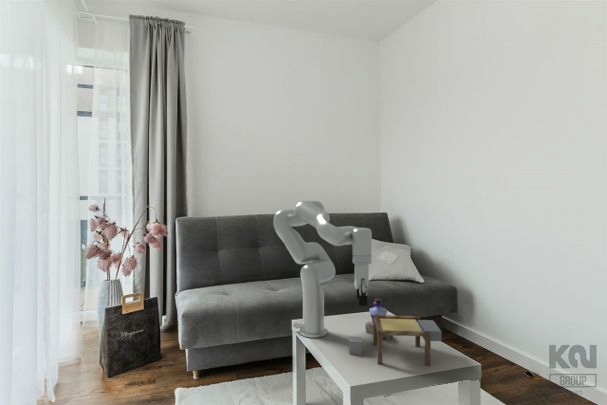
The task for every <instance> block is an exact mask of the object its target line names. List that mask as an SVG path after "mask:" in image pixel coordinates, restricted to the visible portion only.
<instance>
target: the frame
mask: <svg viewBox="0 0 607 405" xmlns="http://www.w3.org/2000/svg"><path fill="white" fill-rule="evenodd" d="M379 319H415V320H416V321H417V323H418V320H421V317H420V316H419V315H417V316H416V315H415V316H414V315H387V314H386V315H373V341H372V342H373V343H372V344H373V346H377V365H383V337H382V335H394V336H397V337H398V336H399V337H402V336H403V337H415V338H414V339H415V340H414V341H415V342H414V343H415V344H414V345H415V347H416V348H421V337H422V336H423V337H425V340H424V365H425V367H427V368H428V367H432V366H431V364H432V363H431V360H432V359H431V357H432V355H431V353H432V352H431V349H432V348H431V346H432V345H431V342H432V341H431V333H430V332H421V331H391V330H382V329H381V326H380V322H379ZM394 336H393V337H394ZM423 337H422V338H423Z"/></svg>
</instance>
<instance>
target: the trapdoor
mask: <svg viewBox="0 0 607 405" xmlns="http://www.w3.org/2000/svg"><path fill="white" fill-rule="evenodd" d="M380 323H381V326H382V330H391V331H421V332H430V333H431V342H442V332H443V331H442V330H441V328H440V327H439V326H438V325H437V324H436V322H435V321H434V320H433V319H431V320H429V319H420V320H418V323H417V321H416V320H415V319H380ZM421 337H422V339H423V340H424V341H425V337H423V336H421Z"/></svg>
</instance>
